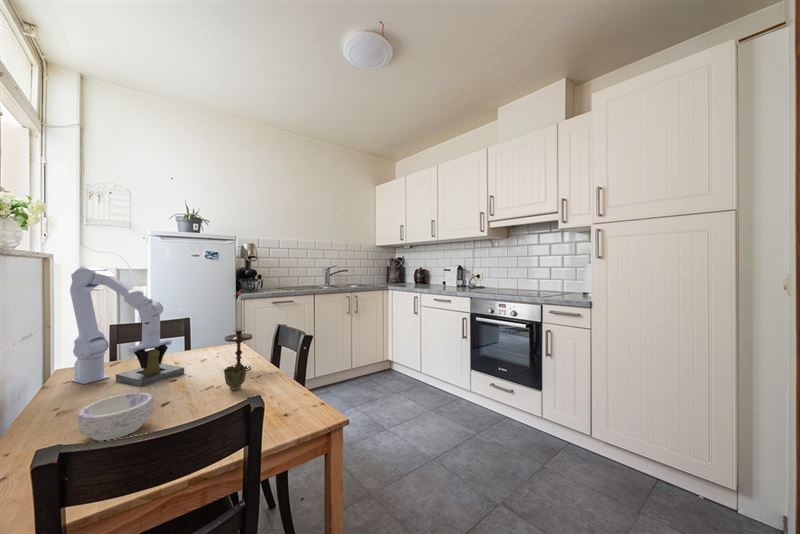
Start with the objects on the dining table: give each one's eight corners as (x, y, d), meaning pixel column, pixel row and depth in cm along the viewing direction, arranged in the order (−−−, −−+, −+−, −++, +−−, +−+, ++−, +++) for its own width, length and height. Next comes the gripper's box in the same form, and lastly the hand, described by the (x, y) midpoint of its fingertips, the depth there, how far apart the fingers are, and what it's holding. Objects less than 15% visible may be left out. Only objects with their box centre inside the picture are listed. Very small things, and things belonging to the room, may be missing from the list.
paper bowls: (61, 444, 81) (61, 413, 81) (122, 416, 96) (122, 390, 96) (111, 450, 78) (111, 418, 78) (166, 421, 93) (166, 394, 93)
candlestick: (244, 364, 147) (244, 287, 147) (257, 368, 141) (257, 289, 141) (219, 370, 139) (220, 289, 138) (232, 375, 132) (232, 290, 132)
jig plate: (115, 380, 125) (115, 374, 125) (159, 368, 140) (159, 362, 140) (140, 387, 119) (140, 380, 119) (184, 373, 134) (184, 367, 134)
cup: (223, 395, 112) (223, 372, 112) (223, 388, 119) (224, 366, 119) (247, 391, 116) (247, 369, 116) (246, 384, 122) (246, 363, 122)
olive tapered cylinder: (150, 380, 126) (150, 352, 126) (138, 379, 127) (138, 351, 127) (164, 375, 132) (165, 348, 132) (152, 374, 133) (153, 347, 133)
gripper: (136, 337, 121) (136, 373, 121) (176, 330, 135) (176, 362, 135) (125, 335, 124) (125, 370, 124) (165, 328, 137) (165, 360, 137)
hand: (151, 366), depth 129 cm, fingers closed on olive tapered cylinder, 5 cm apart
